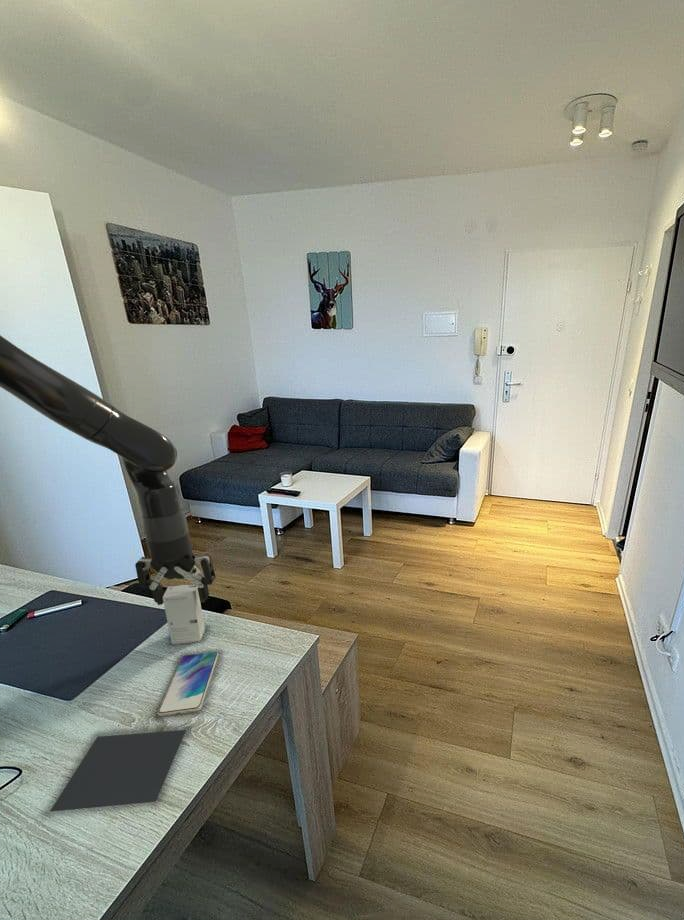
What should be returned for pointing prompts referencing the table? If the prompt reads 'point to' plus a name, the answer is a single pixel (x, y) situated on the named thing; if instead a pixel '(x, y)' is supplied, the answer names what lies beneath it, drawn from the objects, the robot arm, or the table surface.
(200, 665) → the smartphone
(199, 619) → the cosmetic box
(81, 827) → the table surface
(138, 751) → the mat
